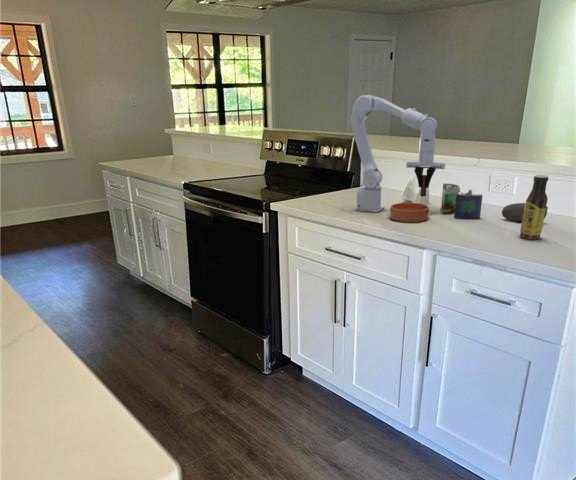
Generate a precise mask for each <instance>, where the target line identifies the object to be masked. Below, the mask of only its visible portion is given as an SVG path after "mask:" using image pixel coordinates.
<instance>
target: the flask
mask: <svg viewBox="0 0 576 480" xmlns="http://www.w3.org/2000/svg"><path fill="white" fill-rule="evenodd" d="M482 204H483V194H481V193H473V189H468V192H460V193H458V194H457V196H456V207H455V212H454V219H459V220H460V219H461V220H467V219H468V220H479V219H480V218H481V214H482V213H481V212H482Z"/></svg>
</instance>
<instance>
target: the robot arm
mask: <svg viewBox="0 0 576 480" xmlns="http://www.w3.org/2000/svg"><path fill="white" fill-rule="evenodd" d="M374 111H384V112H386V113H388V114H390V115H393V116H395V117H398V118H400V119H401V123H402V124H404V125H406V126H408V127H411V128H412V129H415V130H417V131H418V130H419V131H420V138H419V145H418V157H417V159H418V160H417V161H406V163H405V168H407V169H410V168H411V169H414V173H415V176H416V179H417V183H418V184H417V185H418V188H421V178H422V175H424V169H426V175H427V180H426V188H428V187H429V188H430V183H431V180H432V179H433V176H434V174H435V172H436V170H445V169H446V163H443V162H434V161H435V160H434V159H435V149H436V135H437V134H436V129H437V127H438V123H437V120H436V119H435V118H434V117H432V116H428V114H427V113H425V114H423V113H421V112H419V111H417V108H415V107H413V108H411V107H408V108H406V109H405V108H402V107H400V106H398V105H396V104H395V103H392V102H390V101H388V100H387V99H384V98H381V97H379V96H374V95H372V94H362V95H360V96H359V97H357V98H356V101H355V102H354V103H353V108H352V113H351V116H350V120H349V121H350V122H349V123H350V126H351V129H352V133H353V137H354V140H355V144H356V147H357V151H358V154H359V158H360V161H361V166H362V177H363V178H362V184H363V186H362V187H359V188H358V189H357V191H356V209H355V211H357V212H372V213H379V212H380V211H382V210H383V209H384V206H381V203H382V202H381V201H382V186H381V182H382V181H383V174H382V172H381V171H380V170H379V168H378V165H377V163H376V162H375V158H374V154H373V151H372V147H371V143H370V140H369V136H368V133H367V129H366V124H365V121H366V120H367V118H368V116H369V115H370V114H371V113H372V112H374Z"/></svg>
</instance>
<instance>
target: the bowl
mask: <svg viewBox="0 0 576 480" xmlns="http://www.w3.org/2000/svg"><path fill="white" fill-rule="evenodd" d="M389 212H390V213H389V218H390V219H392V220H394V221H395V222H401V223H420V222H424V221H427V220H428V219H429V217H430V206H429V205H428V204H419V203H417V202H399V203H394V204H392V205H390V211H389Z"/></svg>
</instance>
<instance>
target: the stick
mask: <svg viewBox="0 0 576 480" xmlns="http://www.w3.org/2000/svg"><path fill="white" fill-rule="evenodd" d="M426 180H427V174H423V175H422V178H421V187H420V188H421V191H420V196H426V189H427V188H426Z"/></svg>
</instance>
